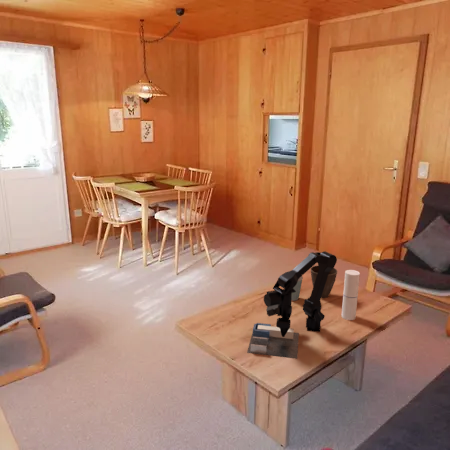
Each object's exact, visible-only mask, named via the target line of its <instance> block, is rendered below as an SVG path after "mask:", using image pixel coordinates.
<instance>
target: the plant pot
mask: <svg viewBox="0 0 450 450" xmlns="http://www.w3.org/2000/svg"><path fill="white" fill-rule="evenodd" d="M318 271H319V266H318V265H314V266H312V267H311V268H310V276H311V282H312V288H313V287H314V283H315V280H316V277H317V274H318ZM337 274H338V270H337V269H336V268H335V267H334V268H333V269H332V270H331V271H330V272H329V274H328V277H327V280H326V283H325V287H324V290H323V293H322V296H321V299H326V298H328V297H329V296H330V294H331V292H332V290H333V288H334V286H335V285H334V284H335V282H336V279H337Z"/></svg>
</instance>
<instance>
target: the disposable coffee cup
mask: <svg viewBox="0 0 450 450" xmlns="http://www.w3.org/2000/svg"><path fill="white" fill-rule="evenodd" d="M303 279H304V277H303V275H302V276H301V277H300V278H299V279H298V282H297V284H296V285H295V287H294V288H293V289H294V290H295V291H296V292H294V293H292V299H291V302H293V301H298V300H299V298H300V295H301V294H300V292H301V289H302V283H303Z"/></svg>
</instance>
